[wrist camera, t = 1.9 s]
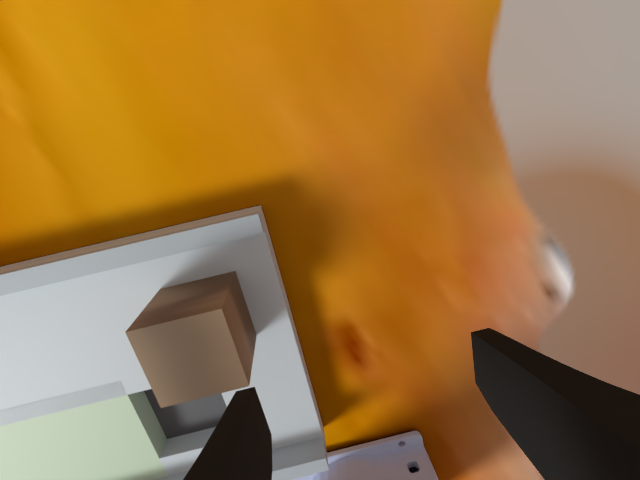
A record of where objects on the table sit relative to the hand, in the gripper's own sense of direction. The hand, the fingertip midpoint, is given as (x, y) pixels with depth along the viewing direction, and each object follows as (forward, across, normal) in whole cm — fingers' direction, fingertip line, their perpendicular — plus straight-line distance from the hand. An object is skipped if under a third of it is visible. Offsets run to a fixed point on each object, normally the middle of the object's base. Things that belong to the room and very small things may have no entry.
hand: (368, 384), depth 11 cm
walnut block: (+8, +7, 0) cm, 10 cm away
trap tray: (+9, +15, +3) cm, 18 cm away
